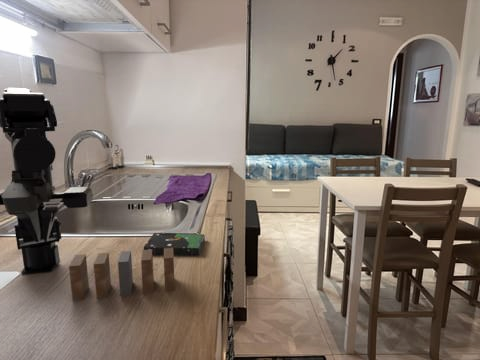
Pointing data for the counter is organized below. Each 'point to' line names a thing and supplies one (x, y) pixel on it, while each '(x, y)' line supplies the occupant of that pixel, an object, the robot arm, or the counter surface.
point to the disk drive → (176, 243)
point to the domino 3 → (125, 273)
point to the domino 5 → (169, 269)
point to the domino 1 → (78, 277)
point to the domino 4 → (147, 271)
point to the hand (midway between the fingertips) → (42, 241)
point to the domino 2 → (102, 275)
